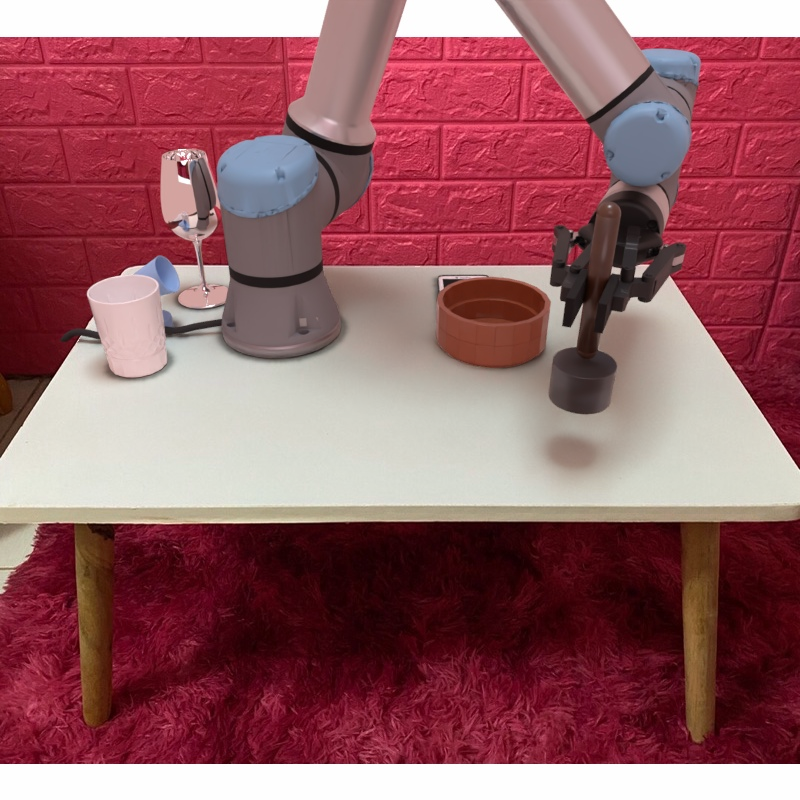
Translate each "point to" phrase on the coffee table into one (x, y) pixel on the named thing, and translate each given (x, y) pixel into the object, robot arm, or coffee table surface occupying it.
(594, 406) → the peg on round base
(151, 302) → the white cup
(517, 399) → the coffee table surface
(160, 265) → the spotlight
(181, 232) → the wineglass
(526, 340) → the bowl
